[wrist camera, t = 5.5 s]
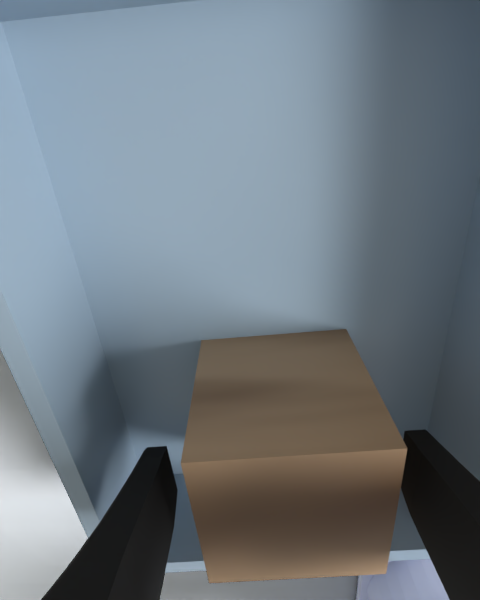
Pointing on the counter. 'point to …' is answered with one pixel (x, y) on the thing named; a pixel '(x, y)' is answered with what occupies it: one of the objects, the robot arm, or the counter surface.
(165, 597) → the counter surface
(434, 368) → the tote
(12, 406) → the counter surface
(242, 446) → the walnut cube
